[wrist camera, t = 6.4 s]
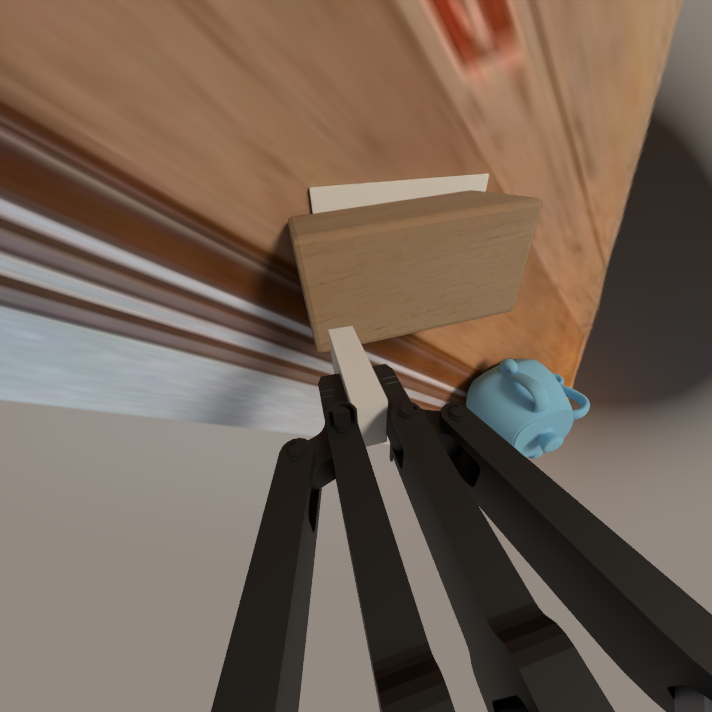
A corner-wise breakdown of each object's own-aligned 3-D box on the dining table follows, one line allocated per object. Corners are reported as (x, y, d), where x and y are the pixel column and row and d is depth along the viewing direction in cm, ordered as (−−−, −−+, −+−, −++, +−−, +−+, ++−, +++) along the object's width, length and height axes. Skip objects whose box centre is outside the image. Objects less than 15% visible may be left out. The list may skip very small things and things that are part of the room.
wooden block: (307, 309, 32) (460, 279, 35) (317, 356, 24) (514, 312, 27) (286, 216, 26) (472, 189, 29) (290, 238, 18) (547, 197, 21)
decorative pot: (550, 365, 51) (625, 419, 40) (491, 423, 57) (542, 483, 46) (498, 337, 43) (573, 393, 32) (438, 407, 50) (483, 474, 39)
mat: (309, 187, 26) (309, 187, 25) (486, 173, 29) (489, 173, 28) (327, 325, 34) (327, 326, 34) (461, 303, 37) (463, 304, 37)
